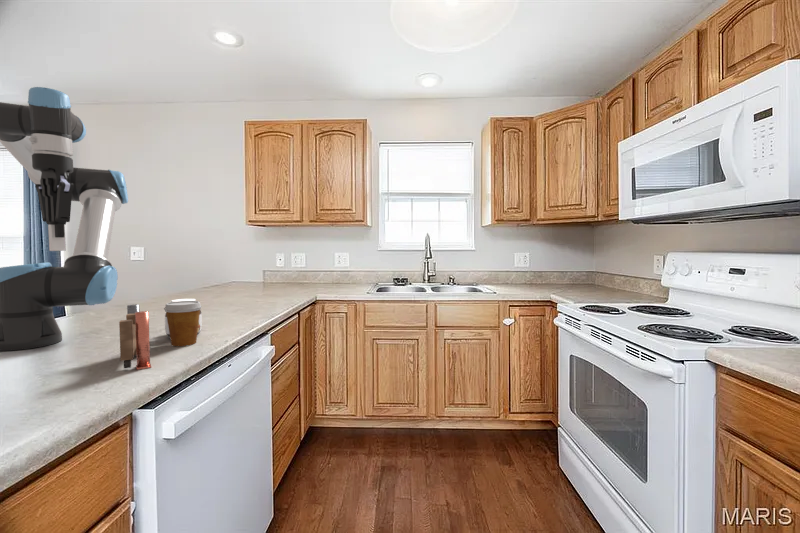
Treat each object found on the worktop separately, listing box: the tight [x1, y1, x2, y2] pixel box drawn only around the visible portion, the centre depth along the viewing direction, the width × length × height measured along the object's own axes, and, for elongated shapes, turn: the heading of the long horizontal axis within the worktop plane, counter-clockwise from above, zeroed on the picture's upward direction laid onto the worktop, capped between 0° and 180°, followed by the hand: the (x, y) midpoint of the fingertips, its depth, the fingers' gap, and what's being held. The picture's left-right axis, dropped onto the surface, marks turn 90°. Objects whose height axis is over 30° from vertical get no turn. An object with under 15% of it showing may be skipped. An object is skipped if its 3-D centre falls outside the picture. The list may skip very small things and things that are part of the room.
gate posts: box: [126, 304, 152, 371], centre depth 93 cm, size 17×4×13 cm, turn 38°
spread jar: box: [164, 298, 203, 338], centre depth 120 cm, size 12×11×12 cm
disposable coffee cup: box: [163, 300, 202, 347], centre depth 110 cm, size 10×10×12 cm
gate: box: [118, 313, 136, 369], centre depth 91 cm, size 2×13×11 cm, turn 29°
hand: (57, 250), depth 95 cm, fingers closed
